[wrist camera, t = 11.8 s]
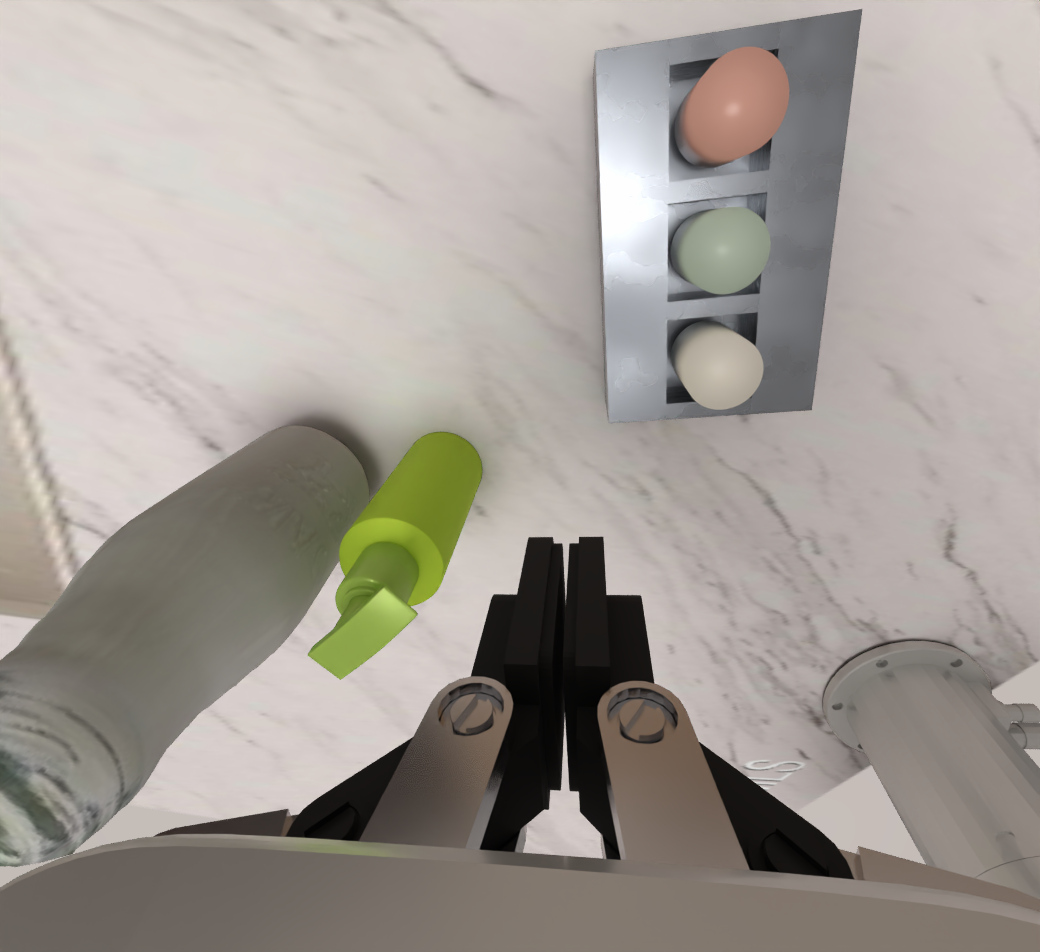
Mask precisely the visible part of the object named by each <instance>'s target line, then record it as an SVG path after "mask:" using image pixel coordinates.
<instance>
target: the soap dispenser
mask: <svg viewBox="0 0 1040 952" xmlns="http://www.w3.org/2000/svg"><path fill="white" fill-rule="evenodd" d="M481 478H482V464H481V460H480V457H479V455H478V453H477V452H476V450H475V449H474V447H473V446H472V445H471V444H470V443H469V442H467V441H466V440H465V439H463V438H462V437H460V436H458V435H455V434H452V433H447V432H435V433H430V434H427V435H425V436H423V437H421V438H420V439H418V440H417V441H416V442H415V443H414V444H413V446H412V447H411V448H410V450H409V451H408V452H407V454H406V455H405V456H404V458H403V459H402V460H401V462H400V463H399V464H398V466H397V467H396V468H395V469H394V471H393V472H392V473H391V475H390V476H389V477H388V479H387V480H386V481H385V483H384V484H383V485H382V487H381V488H380V489H379V491H378V492H377V493H376V495H375V496H374V497H373V499H372V500H371V501H370V502H369V504H368V505H367V506H366V508H365V509H364V510H363V512H362V513H361V514H360V516H359V517H358V518H357V520H356V521H355V522H354V524H353V525H352V526H351V528H350V529H349V530H348V532H347V533H346V534H345V536H344V537H343V539H342V542H341V545H340V550H339V560H340V565H341V568H342V571H343V573H344V575H345V578H344V580H343V581H342V583H341V584H340V586H339V587H338V589H337V592H336V605H337V608H338V610H339V612H340V614H341V615H342V616H341V617H340V619H339V621H338V622H337V624H336V626H335V627H334V629H333V630H332V631H331V632H329V633H328V634H327V635H326V636H325V637H323V638H322V639H321V640H320V641H319V642H317V643H316V644H315V645H314V646H313V647H312V649H311V650H310V652H309V653H308V656H309V657H311V658H312V659H313V660H315V661H316V662H317V663H319V664H320V665H321V666H323V667H324V668H325V669H327V670H328V671H329V672H331V673H332V674H333V675H335V676H336V677H337V678H339V679H340V680H341V679H342V678H344V677H345V676H346V675H348V674H349V673H351V672H352V671H353V670H355V669H356V668H357V667H359V666H360V665H361V664H363V663H364V662H365V661H367V660H368V659H369V658H371V657H372V656H373V655H374V654H376V653H377V652H378V651H379V650H381V649H382V648H383V647H384V646H385V645H386V644H387V643H389V642H390V641H391V640H392V639H393V638H394V637H395V636H396V635H397V634H398V633H399V632H401V631H402V630H403V629H404V628H405V627H406V626H407V625H408V624H409V623H410V622H411V621H412V620H413V619H414V618H415V617H416V616H417V614H418V613H417V612H416V611H415V610H414V609H412V608H411V607H410V606H413V605H417V604H420V603H422V602H424V601H426V600H427V599H429V598H430V597H431V596H432V595H434V593H435V592H436V591H437V590H438V588H439V587H440V585H441V582H442V580H443V577H444V575H445V572H446V570H447V567H448V564H449V562H450V559H451V557H452V554H453V551H454V549H455V546H456V544H457V541H458V538H459V536H460V533H461V531H462V528H463V525H464V523H465V520H466V518H467V515H468V512H469V510H470V507H471V505H472V502H473V499H474V497H475V494H476V492H477V489H478V486H479V484H480V481H481Z"/></svg>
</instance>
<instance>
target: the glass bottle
mask: <svg viewBox="0 0 1040 952" xmlns="http://www.w3.org/2000/svg"><path fill="white" fill-rule="evenodd" d="M368 504H369V487H368V482H367V478H366V475H365V472H364V470H363V468H362V466H361V464H360V463H359V461H358V459H357V458H356V457H355V455H354V454H353V453H352V452H351V451H350V450H349V449H348V448H347V447H346V446H345V445H344V444H342V443H341V442H340V441H338V440H337V439H335V438H334V437H332V436H330V435H329V434H327V433H325V432H323V431H320V430H318V429H315V428H311V427H306V426H285V427H281V428H278V429H275V430H272V431H270V432H268V433H266V434H264V435H263V436H261V437H259V438H258V439H256V440H255V441H253V442H252V443H250V444H248V445H247V446H245V447H244V448H242V449H241V450H239V451H237V452H236V453H234V454H233V455H231V456H230V457H228V458H226V459H225V460H223V461H222V462H220V463H219V464H217V465H215V466H214V467H212V468H211V469H209V470H207V471H206V472H204V473H203V474H201V475H200V476H198V477H196V478H195V479H193V480H192V481H190V482H189V483H187V484H185V485H184V486H182V487H181V488H179V489H178V490H176V491H175V492H173V493H172V494H170V495H169V496H167V497H166V498H164V499H163V500H161V501H160V502H158V503H156V504H155V505H153V506H152V507H150V508H149V509H147V510H146V511H144V512H143V513H141V514H140V515H138V516H137V517H135V518H134V519H132V520H131V521H129V522H128V523H127V524H126V525H124V526H123V527H122V528H121V529H120V530H118V531H117V532H116V533H115V534H114V535H112V536H111V537H110V538H109V539H108V540H107V541H106V542H105V543H104V544H103V545H102V546H101V547H100V548H99V549H98V550H97V551H96V552H95V554H94V555H93V556H92V557H91V558H90V559H89V560H88V561H87V562H86V563H85V564H84V565H83V566H82V568H81V569H80V570H79V571H78V572H77V574H76V575H75V576H74V577H73V579H72V580H71V582H70V583H69V585H68V586H67V588H66V589H65V591H64V592H63V593H62V595H61V596H60V598H59V599H58V600H57V602H56V603H55V604H54V605H53V607H52V608H51V609H50V611H49V612H48V613H47V615H46V616H45V617H44V618H43V619H41V620H40V621H39V622H38V623H37V624H36V625H35V626H34V627H33V628H32V629H31V630H30V631H29V633H28V634H27V635H26V636H25V637H24V638H23V640H22V641H21V642H20V644H19V645H18V646H17V647H16V648H15V649H14V650H13V651H11V652H10V653H9V654H7V655H6V656H5V657H4V658H3V659H2V660H0V866H12V867H18V866H23V865H30V864H35V863H41V862H44V861H48V860H52V859H55V858H59V857H63V856H66V855H71V854H73V852H74V851H75V850H76V849H77V848H78V847H79V846H80V845H81V844H83V843H84V842H85V841H86V840H87V839H89V838H90V837H91V836H92V835H93V834H94V833H96V832H97V831H99V830H100V829H101V828H102V827H103V826H104V825H105V824H106V823H107V822H108V821H109V820H110V819H111V818H112V817H113V816H114V815H115V814H116V813H117V812H118V811H119V810H121V809H122V808H123V807H125V806H126V805H127V804H128V803H129V802H130V801H131V800H132V799H133V798H134V797H135V795H136V794H137V793H138V792H139V791H140V790H141V788H142V787H143V786H144V785H145V783H146V781H147V780H148V778H149V777H150V775H151V773H152V772H153V770H154V769H155V767H156V765H157V763H158V762H159V760H160V758H161V757H162V755H163V754H164V752H165V751H166V749H167V748H168V747H169V746H170V745H171V744H172V743H173V742H174V741H175V739H176V738H177V737H178V736H179V735H180V734H181V733H182V732H183V731H184V729H185V728H186V727H188V726H189V724H190V723H191V722H192V721H193V720H194V719H195V717H196V716H197V715H198V714H199V713H200V712H201V711H203V710H204V709H206V708H208V707H209V706H210V705H212V704H213V703H214V702H215V701H216V700H217V699H219V698H220V697H221V696H222V695H223V694H224V693H226V692H227V691H228V690H230V689H231V688H232V687H234V686H235V685H237V684H238V683H239V682H240V681H241V680H242V679H243V678H244V677H245V676H246V675H248V674H249V673H250V672H251V671H252V670H254V669H255V668H257V667H258V666H259V665H260V664H261V663H262V662H264V661H265V660H266V659H267V658H268V657H269V656H270V655H271V654H273V653H274V652H275V651H276V650H277V649H278V648H279V647H280V646H281V645H282V644H283V642H284V641H285V640H286V639H287V638H288V637H289V635H290V634H291V633H292V632H293V631H294V629H295V628H296V627H297V625H298V624H299V623H300V621H301V620H302V619H303V617H304V616H305V614H306V613H307V611H308V609H309V608H310V606H311V605H312V603H313V601H314V600H315V598H316V597H317V595H318V594H319V592H320V590H321V589H322V587H323V586H324V584H325V582H326V580H327V579H328V577H329V576H330V574H331V572H332V571H333V569H334V568H335V566H336V565H337V563H338V562H339V561H340V560H339V550H340V545H341V542H342V539H343V537H344V536H345V534H346V533H347V532H348V530H349V529H350V528H351V526H352V525H353V524H354V522H355V521H356V520H357V518H358V517H359V516H360V514H361V513H362V512H363V510H364V509H365V508H366V506H367V505H368Z"/></svg>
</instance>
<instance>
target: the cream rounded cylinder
mask: <svg viewBox="0 0 1040 952" xmlns="http://www.w3.org/2000/svg"><path fill="white" fill-rule="evenodd" d="M671 364H672V367H673V369H674V371H675V373H676V374H677V376H678V377H679V379H680V380H681V382H682V383H683V385H684V386H685V388H686V389H687V391H688V392H689V394H690V395H691V397H692V398H693V399H694V400H695V401H696V402H697V403H699V404H700V405H702V406H704V407H706V408H710V409H715V410H723V409H729V408H733V407H735V406H738V405H740V404H742V403H743V402H745V401H746V400H747V399H749V398H750V397H751V396H752V395H753V394H754V392H755V391H756V390H757V388H758V386H759V384H760V382H761V379H762V376H763V360H762V357H761V354H760V352H759V351H758V349H757V348H756V347H755V346H754V345H753V344H752V343H751V342H750V341H748V340H747V339H745V338H744V337H742V336H741V335H739V334H738V333H736V332H735V331H733V330H732V329H730V328H729V327H727V326H726V325H724V324H722V323H720V322H717V321H711V320H705V321H699V322H696V323H694V324H691V325H690V326H688V327H687V328H685V329H684V330H683V331H682V332H681V333H680V334H679V335H678V336H677V338H676V339H675V341H674V343H673V346H672V350H671Z"/></svg>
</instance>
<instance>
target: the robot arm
mask: <svg viewBox="0 0 1040 952" xmlns="http://www.w3.org/2000/svg"><path fill="white" fill-rule="evenodd" d="M823 711H824V714H825V717H826V720H827V722H828V724H829V726H830V728H831V729H832V731H833V733H834V734H835V735H836V736H837V737H838V738H839V740H841V741H842V742H844V743H845V744H846V745H848V746H849V747H851V748H853V749H855V750H857V751H860V752H863V753H865V754H866V755H867V757H868V759H869V761H870V763H871V765H872V766H873V768H874V770H875V772H876V774H877V776H878V777H879V779H880V781H881V783H882V785H883V786H884V788H885V790H886V792H887V794H888V796H889V798H890V799H891V801H892V803H893V805H894V807H895V809H896V810H897V812H898V814H899V816H900V818H901V820H902V821H903V823H904V825H905V827H906V828H907V830H908V832H909V834H910V836H911V838H912V840H913V841H914V843H915V845H916V847H917V849H918V851H919V852H920V854H921V856H922V858H923V860H924V861H925V863H926V865H925V864H921V863H917V862H914V861H910V860H906V859H903V858H899V857H896V856H892V855H888V854H884V853H881V852H877V851H874V850H870V849H866V848H863V847H859V846H858V849H857V853H856V854H855V853H851V852H847V851H844V850H840V849H838V848H837V847H836V845H835V844H834V843H833V842H832V841H831V840H829V839H828V838H827V837H826V836H825V835H824V834H823V833H822V832H821V831H820V830H818V829H817V828H816V827H814V826H813V825H812V824H810V823H809V822H807V821H806V820H805V819H803V818H802V817H801V816H799V815H798V814H797V813H795V812H794V811H793V810H791V809H790V808H788V807H787V806H786V805H784V804H783V803H782V802H780V801H779V800H778V799H776V798H775V797H773V796H772V795H771V794H769V793H768V792H767V791H765V790H764V789H763V788H761V787H760V786H758V785H757V784H756V783H754V782H753V781H752V780H750V779H749V778H748V777H746V776H745V775H743V774H742V773H741V772H739V771H738V770H737V769H735V768H734V767H733V766H731V765H730V764H728V763H727V762H726V761H724V760H723V759H722V758H720V757H719V756H718V755H716V754H715V753H714V752H712V751H711V750H709V749H708V748H707V747H705V746H704V745H703V744H701V743H700V742H699V741H698V739H697V736H696V734H695V731H694V729H693V726H692V724H691V721H690V719H689V716H688V714H687V711H686V709H685V708H684V706H683V704H682V703H681V701H680V700H679V699H678V698H677V697H676V696H675V695H674V694H673V693H672V692H671V691H669V690H667V689H665V688H663V687H661V686H660V685H657V684H654V678H653V671H652V664H651V658H650V651H649V644H648V638H647V631H646V624H645V617H644V611H643V604H642V598H641V596H640V595H606V579H605V560H604V541H603V537H579V543H570V546H569V562H568V579H567V596H566V601H565V582H564V562H563V546H562V544H554V542H553V537H529V538H528V542H527V547H526V553H525V558H524V563H523V568H522V573H521V578H520V583H519V588H518V593H517V595H503V594H494V595H493V597H492V599H491V603H490V606H489V610H488V614H487V618H486V621H485V625H484V629H483V633H482V636H481V640H480V644H479V647H478V651H477V655H476V659H475V662H474V666H473V670H472V674H471V677H467V678H463V679H459V680H457V681H455V682H453V683H450V684H448V685H447V686H446V687H445V688H443V689H442V690H441V691H440V692H439V693H438V694H437V695H436V697H435V698H434V699H433V701H432V702H431V704H430V706H429V708H428V710H427V712H426V714H425V716H424V718H423V719H422V721H421V723H420V725H419V727H418V729H417V731H416V733H415V735H414V737H413V738H411V739H409V740H408V741H406V742H405V743H403V744H402V745H400V746H398V747H397V748H395V749H394V750H392V751H391V752H389V753H388V754H386V755H384V756H383V757H381V758H380V759H378V760H377V761H375V762H373V763H372V764H370V765H369V766H367V767H366V768H364V769H362V770H361V771H359V772H358V773H356V774H355V775H353V776H352V777H350V778H348V779H347V780H345V781H344V782H342V783H341V784H339V785H337V786H336V787H334V788H333V789H331V790H330V791H328V792H326V793H325V794H323V795H322V796H320V797H319V798H317V799H316V800H314V801H313V802H312V803H311V804H309V805H308V806H307V807H306V808H304V809H303V810H302V812H301V813H300V814H298V815H292V816H291V815H290V812H289V809H284V810H278V811H273V812H267V813H261V814H255V815H249V816H243V817H237V818H231V819H225V820H220V821H214V822H208V823H202V824H197V825H190V826H184V827H179V828H174V829H171V830H168V831H165V832H162V833H159V834H157V835H155V836H154V837H145V838H138V839H132V840H127V841H122V842H117V843H111V844H106V845H102V846H99V847H96V848H93V849H89V850H86V851H83V852H80V853H76V854H73V855H70V856H66V857H63V858H60V859H58V860H55V861H52V862H50V863H47V864H45V865H43V866H40V867H38V868H36V869H34V870H31V871H29V872H27V873H25V874H23V875H21V876H19V877H17V878H15V879H13V880H12V881H10V882H9V883H7V884H5V885H4V886H2V887H0V952H1040V768H1039V767H1038V766H1037V765H1036V764H1035V762H1034V761H1033V760H1032V759H1031V758H1030V756H1029V755H1028V754H1027V753H1026V752H1025V751H1024V749H1040V723H1039V722H1040V711H1039V709H1038V708H1037V706H1035V705H1034V704H1012V705H1004V704H1003V703H1002V702H1000V701H997V700H996V699H995V698H994V697H993V695H992V691H991V685H990V681H989V679H988V677H987V675H986V673H985V672H984V671H983V670H982V669H981V667H980V666H979V665H978V664H977V663H976V662H975V661H974V660H973V659H972V658H971V657H969V656H968V655H967V654H966V653H964V652H962V651H960V650H958V649H956V648H954V647H952V646H948V645H945V644H941V643H936V642H928V641H906V642H899V643H892V644H888V645H885V646H881V647H878V648H875V649H872V650H870V651H868V652H865V653H863V654H861V655H859V656H858V657H856V658H854V659H853V660H851V661H850V662H848V663H847V664H846V665H845V666H844V667H842V668H841V669H840V670H839V671H838V672H837V673H836V674H835V676H834V677H833V678H832V679H831V681H830V683H829V684H828V686H827V688H826V690H825V694H824V698H823ZM564 717H565V720H566V737H567V755H568V772H569V788H570V791H578V792H579V800H580V812H581V813H582V814H583V815H584V817H585V818H586V819H587V820H588V821H589V822H590V823H591V824H592V825H593V826H594V827H595V828H596V829H597V830H598V831H599V832H600V833H601V849H602V855H603V859H599V858H586V857H572V856H559V855H545V854H532V853H523V849H524V845H525V841H526V832H527V825H526V824H527V823H529V822H530V821H531V820H532V819H533V818H534V817H536V816H537V815H538V814H539V813H540V812H541V811H543V810H544V809H545V810H549V800H550V790H561V778H562V758H563V737H564ZM1012 721H1017V722H1033V723H1011V722H1012Z"/></svg>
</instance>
